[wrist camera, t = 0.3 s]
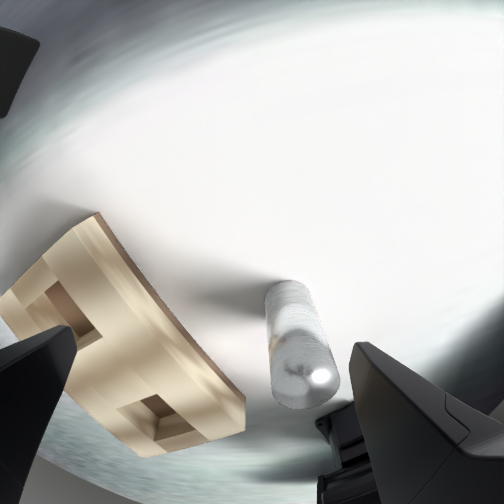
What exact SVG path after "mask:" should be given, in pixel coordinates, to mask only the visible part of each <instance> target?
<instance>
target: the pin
mask: <svg viewBox="0 0 504 504" xmlns="http://www.w3.org/2000/svg"><path fill="white" fill-rule="evenodd" d="M264 305H265V316H266V327H267V339H268V350H269V362H270V373H271V385H272V394H273V396H274V398H275V400H276V401H277V402H278V403H280V404H281V405H283V406H285V407H288V408H292V409H309V408H313V407H316V406H319V405H321V404H323V403H325V402H327V401H328V400H329V399H331V398H332V397H333V396H334V395H335V393H336V392H337V390H338V388H339V386H340V376H339V373H338V370H337V367H336V364H335V361H334V358H333V355H332V352H331V350H330V347H329V344H328V341H327V338H326V335H325V333H324V330H323V327H322V324H321V321H320V319H319V316H318V313H317V310H316V308H315V305H314V302H313V300H312V297H311V294H310V292H309V290H308V289H307V287H306V286H304V285H303V284H302V283H300V282H297V281H291V280H288V281H282V282H279V283H277V284H275V285H274V286H272V287H271V288H270V289H269V291H268V292H267V294H266V296H265V300H264Z"/></svg>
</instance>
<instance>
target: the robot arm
mask: <svg viewBox="0 0 504 504" xmlns="http://www.w3.org/2000/svg"><path fill="white" fill-rule="evenodd" d="M76 354H77V345H76V341H75V338H74V334H73V331H72V328H71V327H70V326H67V325H57V326H55V327H53V328H50V329H48V330H45V331H43V332H41V333H38V334H36V335H33V336H31V337H29V338H26V339H24V340H22V341H19V342H17V343H14V344H12V345H10V346H7V347H5V348H3V349H0V504H19V501H20V498H21V495H22V491H23V487H24V486H25V483H26V479H27V477H28V474H29V471H30V469H31V466H32V463H33V460H34V458H35V455H36V453H37V450H38V448H39V445H40V443H41V440H42V438H43V435H44V433H45V430H46V428H47V426H48V423H49V421H50V419H51V416H52V414H53V412H54V410H55V407H56V405H57V403H58V401H59V399H60V396H61V394H62V392H63V390H64V387H65V385H66V382H67V379H68V376H69V373H70V370H71V368H72V365H73V362H74V359H75V357H76ZM349 373H350V379H351V384H352V390H353V396H354V402H355V403H353V404H351V405H349V406H347V407H345V408H342V409H340V410H338V411H336V412H334V413H331V414H329V415H327V416H325V417H322V418H320V419H318V420H316V421H315V425H316V427H317V428H318V429H319V430H320V432H321V433H322V434H323V435H324V436H325V437H326V438H327V440H328V441H329V442H330V445H331V449H332V453H333V458H334V462H335V467H336V471H333V472H331V473H328V474H325V475H324V474H322V475H320V476H318V483H317V504H504V424H502V423H500V422H499V421H497V420H494V419H492V418H491V417H489V416H487V415H485V414H483V413H481V412H479V411H477V410H475V409H473V408H471V407H470V406H468V405H466V404H464V403H463V402H461V401H459V400H458V399H456V398H455V397H453V396H451V395H450V394H448V393H445V391H443V390H442V389H440V388H439V387H437V386H436V385H434V384H433V383H431V382H429V381H428V380H426V379H425V378H423V377H422V376H420V375H419V374H417V373H415V372H414V371H412V370H411V369H409V368H408V367H406V366H405V365H403V364H402V363H400V362H398V361H397V360H395V359H394V358H392V357H391V356H389V355H388V354H386V353H385V352H383V351H381V350H380V349H378V348H377V347H375V346H374V345H372V344H371V343H369V342H356V343H355V344H354V346H353V350H352V354H351V358H350V362H349Z"/></svg>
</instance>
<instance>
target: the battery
mask: <svg viewBox="0 0 504 504" xmlns="http://www.w3.org/2000/svg"><path fill="white" fill-rule="evenodd" d="M39 46H40V43H39V41H37V40H35V39H33V38H31V37H28V36H26V35H23V34H21V33H19V32H16V31H13V30H10V29H7V28H4V27H0V118H3V117H5V116H6V115H7V113H8V111H9V108H10V106H11V103H12V101H13V99H14V96H15V94H16V92H17V90H18V88H19V85H20V83H21V81H22V79H23V77H24V75H25V73H26V71H27V69H28V67H29V65H30V63H31V61H32V59H33V57H34V55H35V54H36V52H37V50H38V48H39Z"/></svg>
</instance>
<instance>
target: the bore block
mask: <svg viewBox="0 0 504 504" xmlns="http://www.w3.org/2000/svg"><path fill="white" fill-rule="evenodd" d="M0 316H1V317H2V318H3V320H4V321H5V322H6V324H7V325H8V326H9V328H10V329H11V330H12V332H13V333H14V334H15V336H16V337H17V338H18V339H19V341H22V340H24V339H26V338H29V337H31V336H33V335H36V334H38V333H41V332H43V331H45V330H48V329H50V328H53V327H55V326H57V325H67V326H70V327H71V328H72V331H73V334H74V338H75V341H76V345H77V354H76V357H75V359H74V362H73V365H72V368H71V370H70V373H69V376H68V379H67V382H66V385H65V387H64V391H65V392H66V393H67V394H68V395H69V396H70V397H71V398H72V399H73V400H74V401H75V402H76V403H77V404H78V405H79V406H81V407H82V408H83V409H84V410H85V411H86V412H87V413H88V414H89V415H90V416H91V417H93V418H94V419H95V420H96V421H97V422H98V423H99V424H101V425H102V426H103V427H104V428H105V429H106V430H108V431H109V432H110V433H111V434H112V435H114V436H115V437H116V438H117V439H119V440H120V441H121V442H122V443H124V444H125V445H126V446H127V447H129V448H130V449H131V450H133V451H134V452H135V453H137V454H138V455H139V456H141V457H142V458H146V457H150V456H155V455H160V454H164V453H169V452H173V451H177V450H181V449H185V448H189V447H193V446H196V445H200V444H204V443H207V442H211V441H214V440H217V439H221V438H224V437H227V436H230V435H233V434H237V433H240V432H243V431H245V402H246V397H245V396H244V395H243V394H242V393H241V392H240V391H239V390H238V389H237V388H236V387H235V386H234V385H233V383H232V382H231V381H230V380H229V379H228V378H227V377H226V376H225V375H224V374H223V372H222V371H221V370H220V369H219V368H218V367H217V366H216V365H215V363H214V362H213V361H212V360H211V359H210V358H209V357H208V355H207V354H206V353H205V352H204V351H203V350H202V348H201V347H200V346H199V345H198V344H197V343H196V341H195V340H194V339H193V338H192V337H191V335H190V334H189V333H188V332H187V331H186V329H185V328H184V327H183V326H182V325H181V323H180V322H179V321H178V320H177V318H176V317H175V316H174V315H173V313H172V312H171V311H170V310H169V308H168V307H167V306H166V305H165V303H164V302H163V301H162V299H161V298H160V297H159V296H158V294H157V293H156V292H155V290H154V289H153V288H152V286H151V285H150V284H149V282H148V281H147V280H146V279H145V277H144V276H143V274H142V273H141V272H140V270H139V269H138V268H137V266H136V265H135V264H134V262H133V261H132V259H131V258H130V257H129V255H128V254H127V252H126V251H125V250H124V248H123V247H122V245H121V244H120V243H119V241H118V240H117V238H116V237H115V235H114V234H113V232H112V231H111V230H110V228H109V227H108V225H107V224H106V222H105V221H104V219H103V218H102V216H101V215H100V213H99V212H98V213H96V214H95V215H93V216H91V217H89V218H88V219H86V220H84V221H83V222H81V223H79V224H78V225H76V226H74V227H73V228H71V229H70V230H69V231H68V232H67V233H66V234H64V235H63V236H62V237H61V238H60V239H59V240H58V241H57V242H56V243H55V244H54V245H52V246H51V247H50V248H49V249H48V250H47V251H46V252H45V253H44V254H43V255H42V256H41V257H40V258H39V259H38V260H37V261H36V262H35V263H34V264H33V265H32V266H31V267H30V268H29V269H28V270H27V271H26V272H25V273H24V274H23V275H22V276H21V277H20V278H19V279H18V280H17V281H16V282H15V283H14V284H13V285H12V286H11V287H10V288H9V289H8V290H7V291H6V292H5V294H4V295H3V296H2V297H1V298H0Z"/></svg>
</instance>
